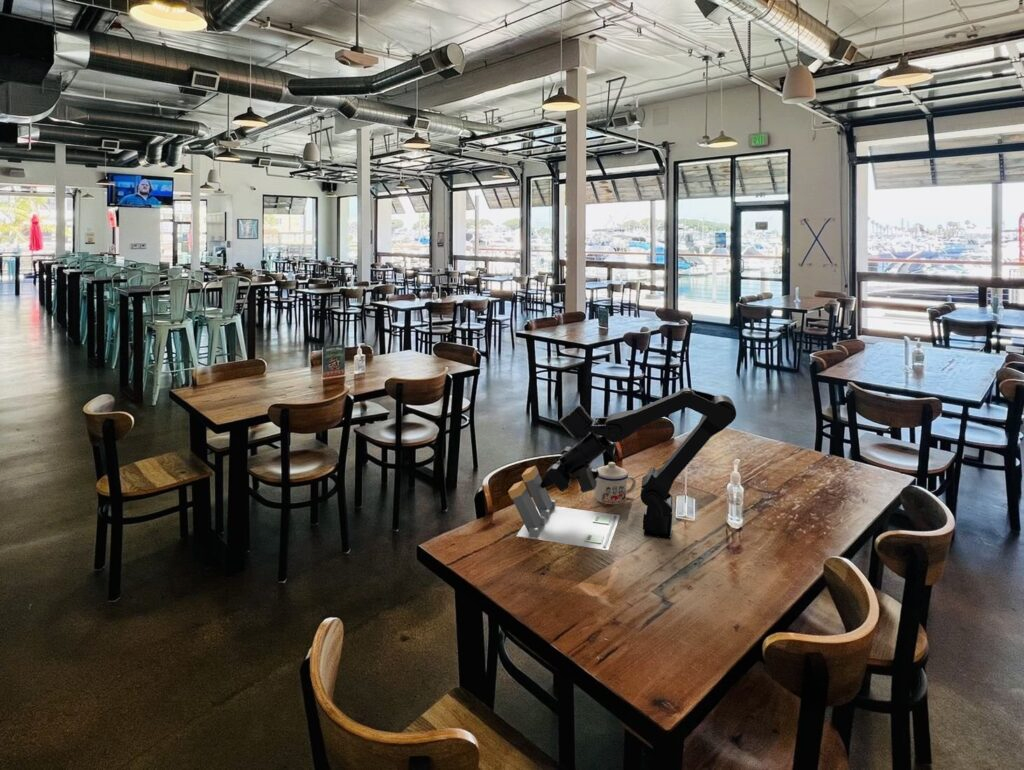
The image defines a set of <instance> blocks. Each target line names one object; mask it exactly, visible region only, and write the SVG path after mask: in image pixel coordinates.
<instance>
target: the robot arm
mask: <svg viewBox="0 0 1024 770" xmlns="http://www.w3.org/2000/svg"><path fill="white" fill-rule="evenodd" d="M734 404H735V403H734V402H733V399H731V398H730V397H729V396H727V395H723V394H719V395H718V394H717V395H714V394H711V393H708V392H704V391H698V390H696V389H693V388H691V387H683V388H681V389H680V390H678V391H676V392H674V393H672V394H670V395H667V396H664V397H662V398H660V399H658V400H655V401H653V402H650V403H649V404H646V405H643V406H641V407H639V408H636V409H632V410H623V411H619V412H615V413H612V414H610V415H608V416H606V417H605V416H604V417H600V416H599V417H593V418H592V417H591V415H589V413H588V412H587V411H586V409H585V408H584V406H583V405H582V404H578V405H577V406H575V407H573V408H572V409H570V410H569V411H568V412H566V413H565V414H564V415H563V416H562V417H561V418H560V419H559V420H558V423H560V424H561V426H563V428H564V429H565V430H566V431H567V432H568V434H569V435H571V437H572V438H573V439H579V440H580V441H579V442H576V443H575V444H574V445H573V446H565V447H564V448H563V449H561V451H560V452H559V454H560V457H559V459H558V458H555V459H554V460H553V462H552V464H550V466H549V467H548V469H547V470H546V471H545V476H544V477H543V479H542V483H541V484H540V486H541V487H542V488H547V487H550V486H552V485H555V486H556V487H557V489H559V491H560V492H562V493H563V492H565V491H566V490H567V489H568V488H570V486H571V484H572V478H573V479H576V480H577V482H578V485H579V486H580V492H581V493H587V492H590V491H591V492H592V491H595V487H596V485H597V483H596V482H597V480H595V479H596V478H597V477H598V476H599V472H598V470H597V468H593V467H591V466H590V464H592V462H593V461H595V460H596V459H597V458H599V456H602V454H604V453H605V452H607V453H608V454H609V455H610V456H611V457H613V456H614V455H615V451H616V445H617V443H620V442H622V441H623V440H625V439H627V438H628V437H629V436H631V435H633V434H634V433H635V432H636V431H637V430H639V429H640V428H642V427H644V426H646V425H648V424H650V423H652V422H655V421H657V420H660V419H662V418H664V417H667V416H670V415H671V414H674V413H676V412H679V411H681V410H685V409H687V408H688V409H689V410H693V412H694V411H695V412H696V413H699V414H701V415H702V416H701V417H700V420H699V421H698V424H696V426H695V427H694V428H693V430H692V431H691V432H690V433H689V434H688V435H687V437H686V438H684V440H683V442H682V443H681V444H680V445H679V446H678V447H677V449H676V450H675V451H674V452H673V453H672V455H671V456H670V457H669V458H668V459H667V461H666V462H665V463H664V464H663V465H662V466H661V467H660V468H658V469H655V468H654V467H653V466H651V467H650V469H649V470H648V472H647V474H646V475H644V476H642V480H641V486H640V487H641V488H640V495H639V496H640V499H641V502H642V503H643V504H644V505H645V506H646V509H645V510H644V511H643V517H642V518H643V519H642V530H643V531H644V532H643V535H644V536H645V537H654V538H660V539H669V540H670V539H671V538H672V534H673V533H672V531H673V517H674V516H673V513H674V507H673V495H671V493H670V491H671V489H672V486H673V484H674V482H675V480H676V479H677V477H679V475H680V474H681V473H682V472H683V471H684V469H686V467H687V466H688V465H689V464H690V462H691V461H692V460H694V458H695V457H696V455H698V453H700V451H701V450H702V448H703V447H704V446H706V444H707V443H708V442H709V441H710V439H711V438H713V436H714V435H717V434H719V433H720V432H721V431H724V429H726V428H727V427H728V426H730V425H731V424H732V423H733V422H734V421H735V420H736V417H737V409H736V407H735V405H734ZM583 437H584V438H583Z"/></svg>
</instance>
